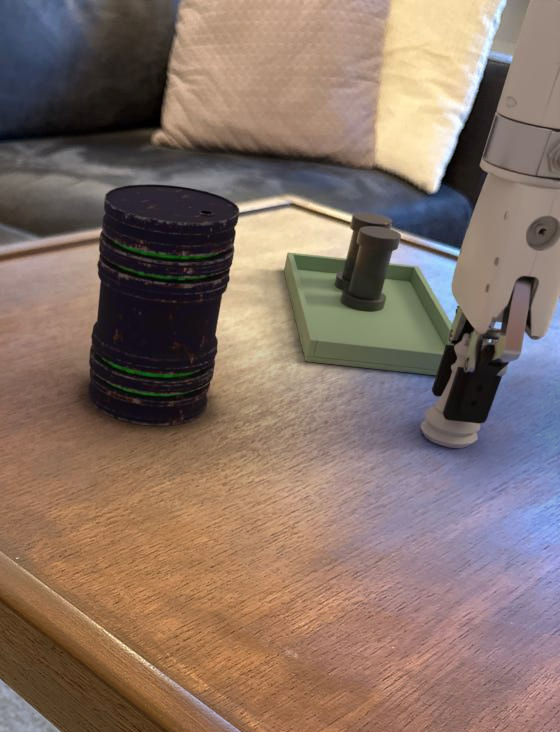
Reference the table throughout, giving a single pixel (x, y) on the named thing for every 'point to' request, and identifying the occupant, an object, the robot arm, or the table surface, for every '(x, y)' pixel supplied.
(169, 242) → the dark barrel
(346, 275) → the black piece
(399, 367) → the piece tray
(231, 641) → the table surface
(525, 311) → the robot arm
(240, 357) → the table surface
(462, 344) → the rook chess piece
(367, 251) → the black piece
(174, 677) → the table surface
